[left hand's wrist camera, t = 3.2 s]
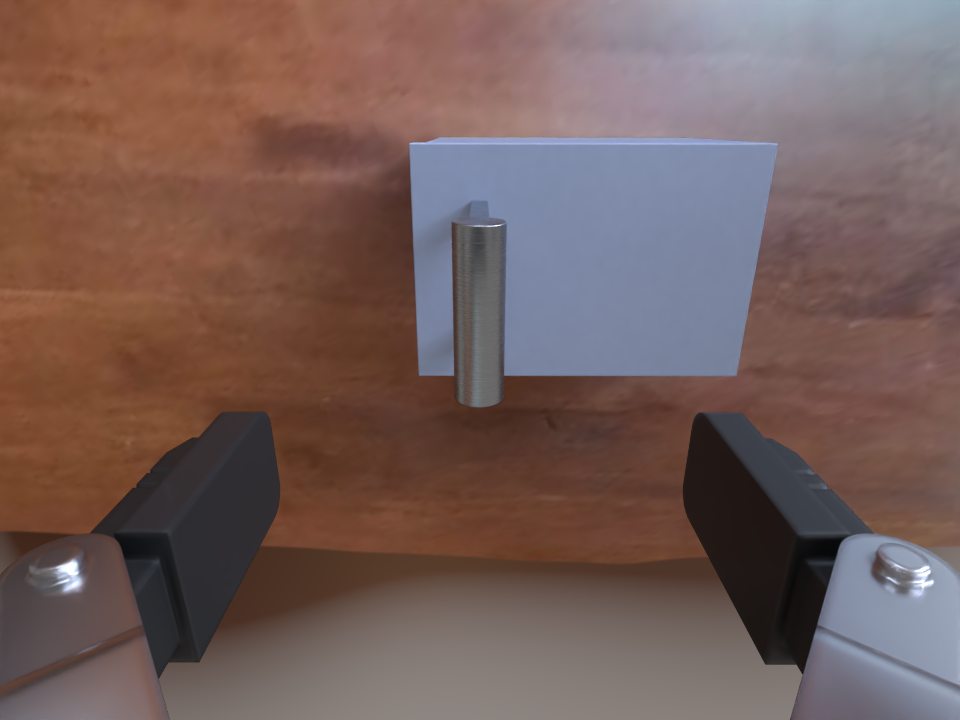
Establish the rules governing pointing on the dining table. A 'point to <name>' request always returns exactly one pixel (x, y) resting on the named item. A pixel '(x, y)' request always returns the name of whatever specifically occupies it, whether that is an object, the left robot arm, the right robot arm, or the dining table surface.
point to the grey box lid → (583, 258)
